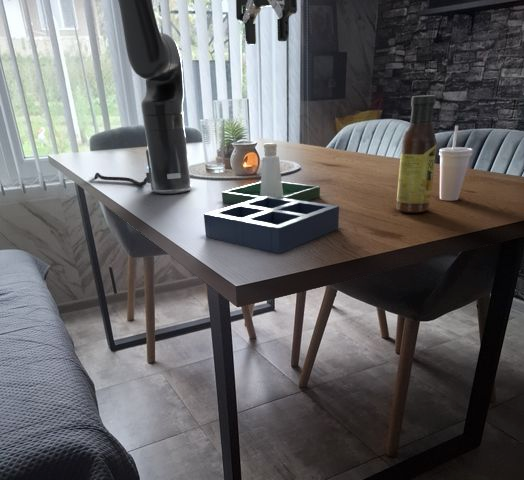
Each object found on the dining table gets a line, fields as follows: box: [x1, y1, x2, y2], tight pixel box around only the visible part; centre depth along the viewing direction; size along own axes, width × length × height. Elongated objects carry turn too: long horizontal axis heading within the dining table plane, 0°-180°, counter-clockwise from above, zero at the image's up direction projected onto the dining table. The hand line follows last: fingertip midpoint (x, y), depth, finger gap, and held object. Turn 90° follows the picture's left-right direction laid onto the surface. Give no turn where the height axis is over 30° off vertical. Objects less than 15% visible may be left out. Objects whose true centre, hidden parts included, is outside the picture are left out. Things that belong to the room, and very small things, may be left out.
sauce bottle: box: [396, 94, 438, 214], centre depth 89 cm, size 7×6×20 cm
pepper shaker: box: [260, 142, 283, 198], centre depth 104 cm, size 5×5×11 cm
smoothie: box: [438, 125, 474, 202], centre depth 98 cm, size 6×6×14 cm
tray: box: [221, 181, 321, 205], centre depth 107 cm, size 15×15×2 cm
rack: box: [203, 196, 340, 255], centre depth 83 cm, size 16×16×4 cm
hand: (266, 42), depth 100 cm, fingers open, 8 cm apart
